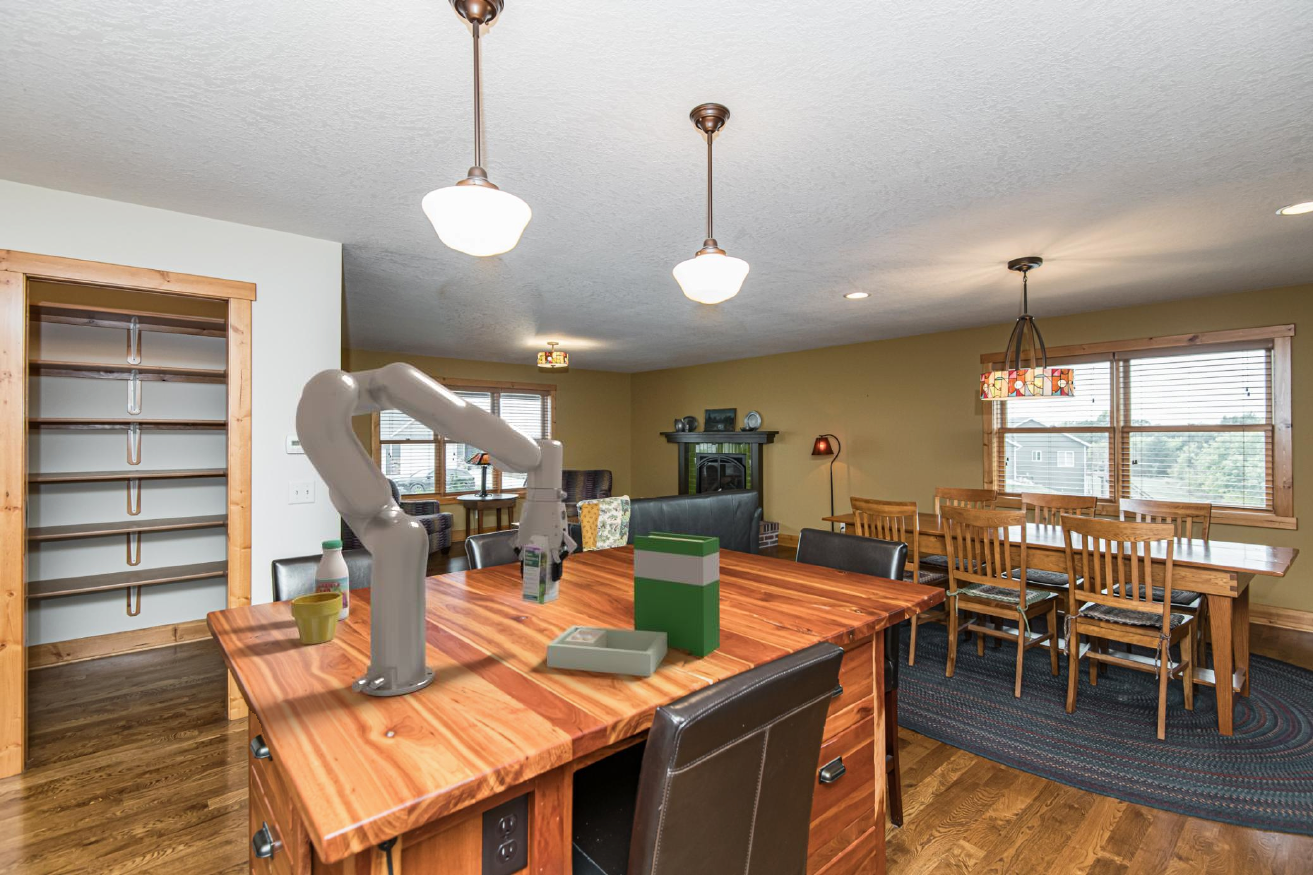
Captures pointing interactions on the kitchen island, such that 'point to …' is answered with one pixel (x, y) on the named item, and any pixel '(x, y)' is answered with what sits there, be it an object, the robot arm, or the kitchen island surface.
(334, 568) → the milk bottle
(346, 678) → the kitchen island surface
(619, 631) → the tote
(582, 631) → the white toy brick
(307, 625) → the plant pot
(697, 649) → the hardback book
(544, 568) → the syrup box
